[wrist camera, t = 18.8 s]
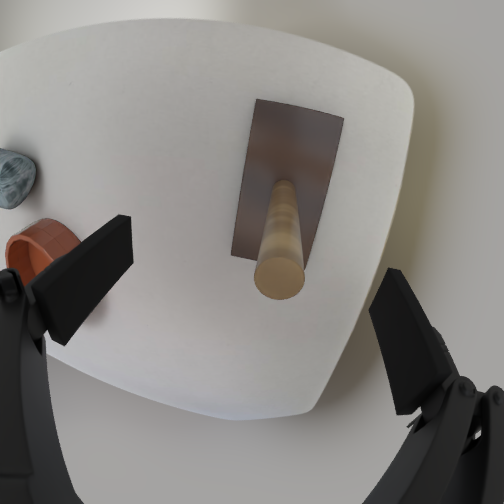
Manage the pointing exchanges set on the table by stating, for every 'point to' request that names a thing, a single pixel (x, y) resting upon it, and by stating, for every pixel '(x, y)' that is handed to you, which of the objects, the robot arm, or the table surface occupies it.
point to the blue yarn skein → (15, 178)
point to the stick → (281, 246)
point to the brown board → (285, 170)
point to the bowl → (38, 247)
